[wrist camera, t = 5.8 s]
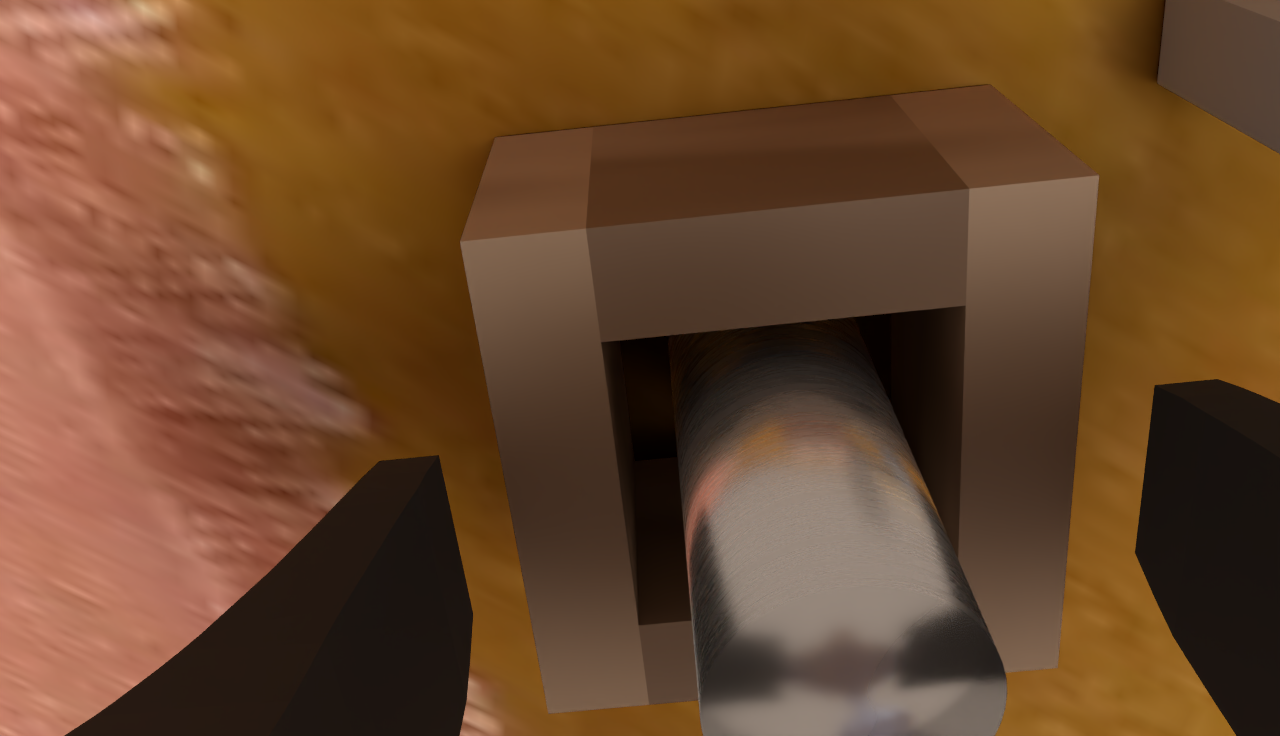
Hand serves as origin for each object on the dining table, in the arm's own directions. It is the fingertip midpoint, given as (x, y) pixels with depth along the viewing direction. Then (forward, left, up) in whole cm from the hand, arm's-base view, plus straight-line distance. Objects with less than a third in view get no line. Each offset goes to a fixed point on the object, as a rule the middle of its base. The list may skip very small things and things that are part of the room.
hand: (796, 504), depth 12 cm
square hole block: (0, 0, -4) cm, 4 cm away
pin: (0, 0, -4) cm, 4 cm away
